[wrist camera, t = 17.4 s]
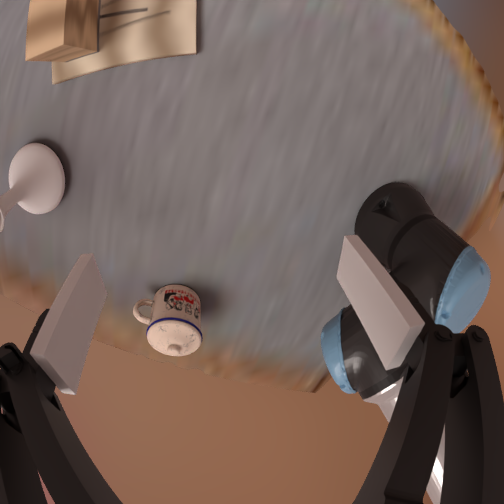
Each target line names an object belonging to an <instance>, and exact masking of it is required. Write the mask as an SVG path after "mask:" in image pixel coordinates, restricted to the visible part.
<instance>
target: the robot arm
mask: <svg viewBox="0 0 504 504" xmlns="http://www.w3.org/2000/svg"><path fill="white" fill-rule="evenodd" d="M383 266H384V267H386V268H388V269H390V270H391V272H390V273H389V274H388V272H387V271H386V270H385V268H384V267H383ZM336 278H337V280H338V281H339V283H340V285H341V287H342V288H343V290H344V292H345V294H346V296H347V297H348V299H349V301H350V303H351V304H350V305H349V306H348V307H346V308H343V309H341V311H340V312H339V314H337V315H336V316H335V317H334V318H333V319H331V320H330V321H329V322H328V323H327V324H326V325H325V326H324V327H323V330H322V333H321V348H322V352H323V356H324V359H325V362H326V365H327V367H328V370H329V372H330V374H331V376H332V377H333V379H334V381H335V382H336V384H337V385H340V388H341V389H342V390H343V391H344V392H346V393H348V394H351V393H356V392H357V391H358V392H359V394H360V396H361V397H362V399H363V400H364V401H366V402H371V403H376V404H378V405H379V407H380V408H381V410H382V412H383V414H384V415H385V417H386V419H387V420H388V422H389V425H388V428H387V431H386V433H385V436H384V438H383V441H382V443H381V446H380V448H379V451H378V453H377V455H376V458H375V460H374V462H373V465H372V467H371V469H370V471H369V473H368V475H367V477H366V480H365V481H364V484H363V486H362V487H361V489H360V491H359V493H358V495H357V497H356V499H355V501H354V502H353V503H352V504H423V496H424V493H425V491H426V490H427V492H428V494H429V496H430V498H431V500H432V502H433V504H504V402H503V396H502V391H501V385H500V381H499V375H498V371H497V367H496V363H495V359H494V355H493V351H492V348H491V344H490V341H489V337H488V335H487V333H486V332H485V331H484V329H482V328H481V327H479V326H476V325H471V326H470V327H468V329H467V330H466V332H465V333H460V332H461V331H462V330H463V329H464V328H465V327H466V326H467V325H468V324H469V323H470V321H472V319H473V318H474V317H475V315H476V314H477V312H478V311H479V309H480V308H481V306H482V304H483V302H484V300H485V298H486V296H487V293H488V290H489V286H490V279H491V275H490V269H489V267H488V265H487V263H486V262H485V261H484V260H483V259H482V258H481V257H480V255H478V253H477V252H476V250H475V249H474V247H472V246H470V245H469V244H468V243H466V242H465V241H464V240H463V239H462V238H461V237H460V236H458V235H457V234H456V233H455V232H454V231H452V230H451V229H450V228H449V227H448V226H446V225H445V224H444V223H443V222H441V221H440V220H439V219H437V218H436V217H435V216H434V214H433V212H432V211H431V209H430V207H429V206H428V204H427V203H426V201H425V199H424V197H423V196H422V195H421V194H420V193H419V192H418V191H417V190H415V189H414V188H412V187H411V186H409V185H407V184H404V183H390V184H387V185H385V186H382V187H381V188H379V189H377V190H376V191H375V192H374V193H372V194H371V195H370V196H369V197H368V199H367V200H366V201H365V202H364V204H363V205H362V207H361V209H360V211H359V213H358V216H357V219H356V223H355V235H347V236H344V241H343V247H342V252H341V257H340V262H339V267H338V272H337V276H336ZM106 297H107V291H106V289H105V286H104V283H103V281H102V278H101V275H100V272H99V270H98V267H97V264H96V261H95V258H94V255H93V253H91V254H81V255H80V257H79V259H78V260H77V262H76V263H75V265H74V267H73V268H72V270H71V272H70V274H69V275H68V277H67V279H66V280H65V282H64V284H63V286H62V288H61V289H60V291H59V293H58V295H57V297H56V299H55V300H54V302H53V304H52V306H51V308H50V309H46V310H45V311H44V312H43V313H42V314H41V315H40V317H39V319H38V321H37V323H36V326H35V327H34V329H33V332H32V333H31V335H30V337H29V339H28V341H27V344H26V346H25V348H24V351H23V353H21V352H20V350H19V349H18V348H17V346H16V345H15V344H14V343H6V344H4V345H2V346H1V347H0V368H1V369H0V504H47V500H46V498H45V494H44V491H43V488H42V485H41V481H40V478H39V474H40V476H41V478H42V480H43V482H44V484H45V486H46V488H47V490H48V491H49V493H50V495H51V497H52V498H53V500H54V502H55V504H123V503H122V502H121V501H120V500H119V498H118V497H117V496H116V495H115V493H114V492H113V491H112V489H111V488H110V487H109V485H108V484H107V482H106V481H105V480H104V478H103V477H102V475H101V474H100V472H99V471H98V469H97V468H96V466H95V465H94V463H93V462H92V460H91V458H90V457H89V455H88V454H87V452H86V450H85V449H84V447H83V445H82V444H81V442H80V440H79V438H78V436H77V435H76V433H75V431H74V429H73V427H72V425H71V424H70V421H69V419H68V418H67V416H66V414H65V411H64V409H63V407H62V405H61V403H60V401H59V399H58V396H57V395H56V394H55V392H54V390H55V386H57V387H58V388H59V390H60V391H61V392H62V393H67V394H74V395H76V392H77V388H78V384H79V381H80V377H81V373H82V369H83V366H84V363H85V359H86V356H87V352H88V349H89V345H90V343H91V340H92V337H93V334H94V331H95V328H96V325H97V322H98V319H99V316H100V313H101V311H102V308H103V305H104V302H105V300H106ZM467 371H468V372H467ZM468 375H469V376H468ZM1 408H2V409H3V414H2V413H1ZM38 472H39V474H38Z"/></svg>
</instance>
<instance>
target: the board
mask: <svg viewBox="0 0 504 504" xmlns="http://www.w3.org/2000/svg"><path fill="white" fill-rule="evenodd" d="M196 12H197V0H101V7H100V25H99V52H98V53H94V54H91V55H88V56H84V57H81V58H78V59H75V60H72V61H69V62H53V61H52V81H53V84H59V83H62V82H64V81H67V80H70V79H73V78H77V77H80V76H83V75H86V74H90V73H93V72H97V71H101V70H105V69H109V68H113V67H117V66H122V65H126V64H131V63H136V62H142V61H147V60H153V59H160V58H167V57H175V56H184V55H194V54H197V52H196Z"/></svg>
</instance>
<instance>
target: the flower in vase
mask: <svg viewBox="0 0 504 504" xmlns="http://www.w3.org/2000/svg"><path fill="white" fill-rule="evenodd" d="M9 184H10V190H9V191H7V192H6V193H5V194H3V195H1V196H0V233H1V231H2V229H3V227H4V219H5V217H6V215H7V213H8V212H9V211H10V209H11V208H12V207H13V206H14V205H15V204H17V203H18V204H19V205H20V206H21V207H22V208H23V209H25V210H26V211H28V212H30V213H33V214H43V213H47V212H50V211H52V210H53V209H54V208H56V207H57V205H58V204H59V203H60V201H61V199H62V197H63V194H64V189H65V175H64V170H63V167H62V164H61V162H60V160H59V158H58V157H57V155H56V154H55V153H54V152H53V151H52V150H51V149H50V148H49V147H47V146H45V145H43V144H40V143H30V144H27V145H25V146H24V147H22V148H21V149H20V150H19V151H18V152H17V154H16V155H15V157H14V158H13V160H12V162H11V165H10V169H9Z"/></svg>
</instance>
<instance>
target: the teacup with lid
mask: <svg viewBox="0 0 504 504" xmlns="http://www.w3.org/2000/svg"><path fill="white" fill-rule="evenodd" d="M142 305H147V306H151V307H152V311H151V317H150V318H148V317H145V316H143V315H142V314H141V313H140V312H139V311H138V308H139V307H140V306H142ZM133 314H134V316H135V317H136V318H137V319H138V320H139V321H140V322H142V323H145V324H148V325H149V327H148V329H147V333H146V334H147V339H148V341H149V343H150V345H151V346H152V347H153V348H154V349H156V350H157V351H159V352H161V353H163V354H166V355H170V356H184V355H188V354H191V353H193V352H194V351H196V350H197V349H198V348H199V346H200V345H201V342H202V333H201V309H200V299H199V297H198V295H197V294H196V293H195V292H194V291H193V290H192V289H190V288H188V287H186V286H183V285H168V286H165V287H162V288H161V289H159V290H158V291H157V292H156V294H155V296H154V300H150V299H141V300H139V301H138V302H137V303H136V304H135V306H134V309H133Z"/></svg>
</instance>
